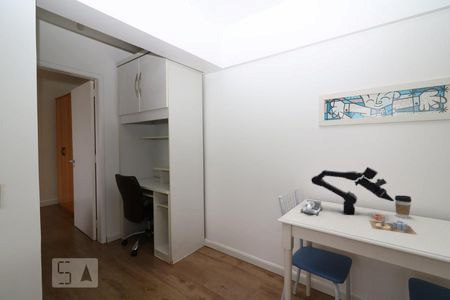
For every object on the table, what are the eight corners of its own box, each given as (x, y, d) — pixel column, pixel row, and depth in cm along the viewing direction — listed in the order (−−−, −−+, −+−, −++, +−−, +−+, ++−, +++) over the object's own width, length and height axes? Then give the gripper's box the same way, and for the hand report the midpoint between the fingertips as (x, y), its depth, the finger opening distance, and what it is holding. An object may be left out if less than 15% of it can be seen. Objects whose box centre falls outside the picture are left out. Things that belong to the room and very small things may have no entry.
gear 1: (373, 221, 134) (373, 216, 133) (371, 218, 139) (371, 213, 139) (385, 223, 131) (385, 218, 131) (383, 220, 137) (383, 214, 136)
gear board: (372, 230, 121) (372, 221, 121) (368, 222, 133) (368, 214, 132) (417, 237, 112) (418, 227, 112) (409, 228, 124) (409, 219, 124)
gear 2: (398, 230, 118) (398, 224, 118) (390, 225, 124) (390, 220, 124) (409, 230, 117) (410, 224, 117) (401, 225, 124) (401, 220, 123)
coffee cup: (412, 222, 133) (413, 198, 132) (395, 219, 137) (395, 197, 136) (409, 217, 140) (410, 195, 139) (393, 215, 144) (393, 193, 143)
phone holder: (317, 203, 142) (299, 200, 149) (316, 217, 143) (299, 214, 150) (322, 197, 157) (306, 195, 164) (322, 210, 158) (306, 207, 164)
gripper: (377, 175, 132) (404, 191, 125) (374, 175, 148) (397, 189, 141) (365, 189, 134) (391, 205, 127) (363, 187, 150) (386, 202, 143)
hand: (392, 200), depth 135 cm, fingers open, 9 cm apart
